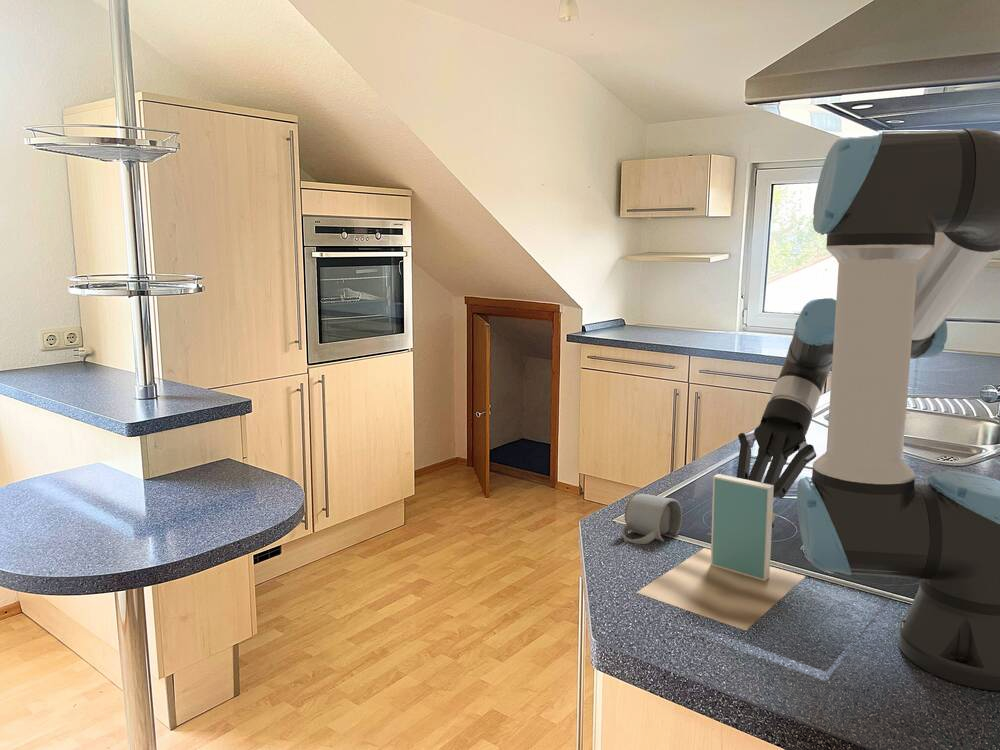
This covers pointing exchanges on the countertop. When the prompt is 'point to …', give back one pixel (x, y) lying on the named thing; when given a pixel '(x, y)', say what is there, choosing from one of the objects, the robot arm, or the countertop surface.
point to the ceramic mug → (651, 517)
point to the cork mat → (720, 590)
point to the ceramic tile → (742, 526)
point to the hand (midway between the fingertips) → (743, 529)
